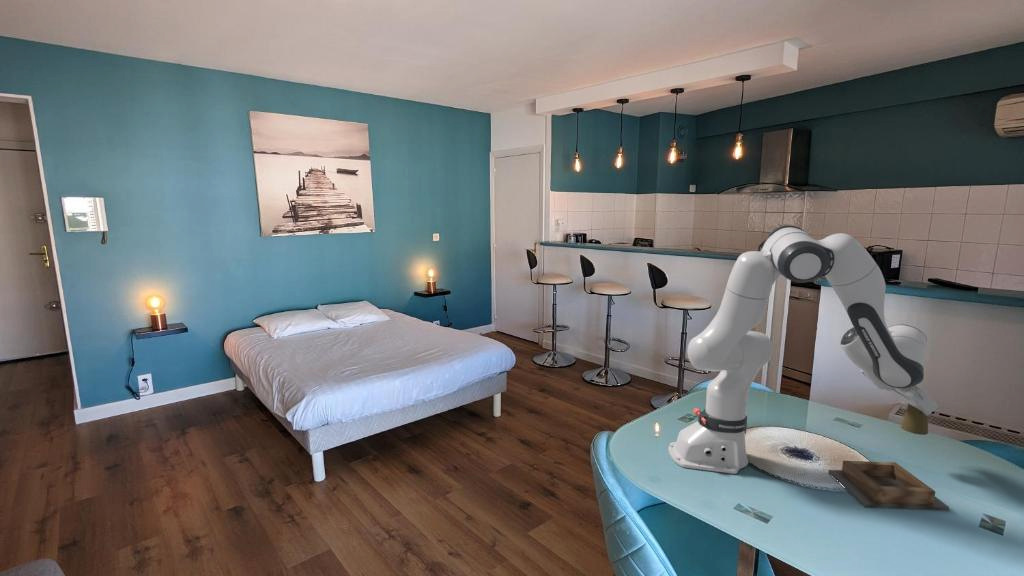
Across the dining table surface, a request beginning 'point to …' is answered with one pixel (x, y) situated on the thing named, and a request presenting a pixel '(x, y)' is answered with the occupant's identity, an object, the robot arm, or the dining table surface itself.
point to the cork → (915, 421)
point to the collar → (886, 486)
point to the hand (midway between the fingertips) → (919, 408)
